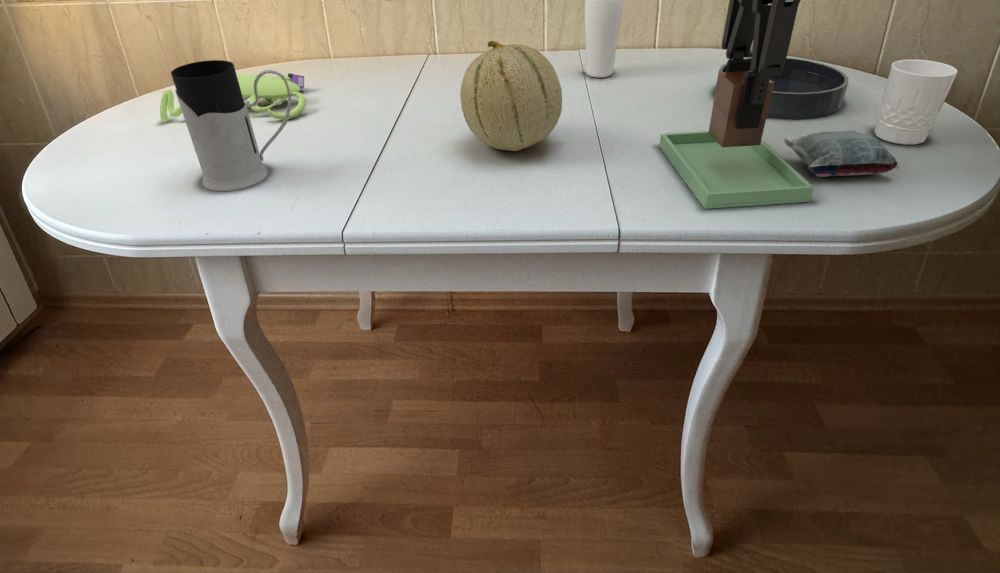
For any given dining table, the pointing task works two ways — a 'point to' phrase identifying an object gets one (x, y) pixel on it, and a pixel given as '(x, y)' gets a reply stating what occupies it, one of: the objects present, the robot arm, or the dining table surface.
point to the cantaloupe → (511, 97)
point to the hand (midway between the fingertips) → (738, 118)
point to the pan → (805, 89)
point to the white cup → (913, 100)
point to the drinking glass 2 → (601, 35)
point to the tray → (733, 172)
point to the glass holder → (222, 124)
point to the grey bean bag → (842, 153)
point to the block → (734, 112)
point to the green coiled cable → (265, 89)
